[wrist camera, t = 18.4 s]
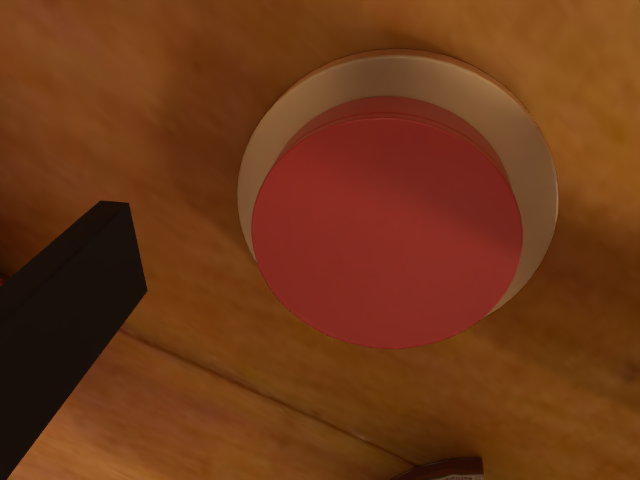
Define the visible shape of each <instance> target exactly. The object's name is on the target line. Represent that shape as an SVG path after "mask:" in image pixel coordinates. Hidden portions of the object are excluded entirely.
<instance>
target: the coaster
mask: <svg viewBox="0 0 640 480" xmlns="http://www.w3.org/2000/svg"><path fill="white" fill-rule="evenodd" d="M372 97H403V98H411V99H416V100H420V101H424V102H428V103H431V104H434V105H436V106H439V107H441V108H444V109H446V110H448V111H450V112H452V113H454V114H455V115H457V116H459V117H460V118H462V119H464V120H465V121H466V122H468V123H469V124H470V125H471V126H473V127H474V128H475V129H476V130H478V131H479V132H480V133H481V135H482V136H483V137H484V138H485V139H486V140H487V141H488V142H489V143H490V145H491V146H492V147H493V149H494V150H495V152H496V153H497V155H498V156H499V158H500V160H501V162H502V164H503V166H504V168H505V170H506V173H507V176H508V178H509V181H510V184H511V187H512V190H513V193H514V195H515V198H516V201H517V205H518V208H519V211H520V214H521V221H522V228H523V247H522V252H521V258H520V263H519V265H518V268H517V271H516V274H515V277H514V279H513V280H512V282H511V284H510V286H509V288H508V290H507V291H506V293H505V294H504V296H503V297H502V298H501V300H500V301H499V302H498V304H497V305H496V306H495V307H494V308H493V309H492V310H491V311H490V312H489V313H488V314H487V315H489V314H490V313H492V312H494V311H495V310H497V309H498V308H500V307H501V306H503V305H504V304H505V303H506V302H507V301H509V300H510V299H511V298H512V297H514V296H515V295H516V294H517V293H518V292H519V291H520V290H521V288H522V287H523V286H524V285H525V284H526V283H527V282H528V281H529V280H530V278H531V277H532V275H533V274H534V273H535V271H536V270H537V268H538V267H539V265H540V264H541V262H542V260H543V258H544V256H545V254H546V252H547V250H548V248H549V245H550V242H551V240H552V237H553V234H554V231H555V226H556V221H557V216H558V207H559V188H558V180H557V172H556V169H555V165H554V162H553V158H552V155H551V152H550V150H549V148H548V145H547V143H546V141H545V139H544V137H543V135H542V133H541V131H540V129H539V128H538V126H537V124H536V123H535V121H534V120H533V118H532V117H531V116H530V114H529V113H528V111H527V110H526V108H525V107H524V106H523V105H522V104H521V103H520V101H519V100H518V99H517V98H516V97H515V96H514V95H513V94H512V93H511V92H510V91H509V90H508V89H507V88H505V87H504V86H503V85H501V84H500V83H499V82H498V81H496V80H495V79H494V78H493V77H491V76H489V75H488V74H486V73H484V72H482V71H481V70H479V69H477V68H476V67H474V66H472V65H470V64H467V63H465V62H462V61H460V60H457V59H455V58H452V57H449V56H445V55H441V54H437V53H433V52H429V51H421V50H412V49H380V50H374V51H368V52H362V53H357V54H353V55H350V56H347V57H344V58H341V59H337V60H335V61H332V62H330V63H328V64H326V65H324V66H322V67H320V68H318V69H316V70H314V71H312V72H311V73H309V74H308V75H306V76H305V77H303V78H302V79H300V80H299V81H297V82H296V83H295V84H294V85H293V86H291V87H290V88H289V89H288V90H287V91H286V92H285V93H283V94H282V95H281V96H280V98H279V99H278V100H277V101H276V102H275V103H274V105H273V106H272V107H271V108H270V109H269V110H268V112H267V113H266V114H265V115H264V117H263V118H262V119H261V121H260V123H259V124H258V126H257V127H256V129H255V131H254V132H253V134H252V136H251V138H250V140H249V142H248V145H247V147H246V149H245V152H244V155H243V158H242V162H241V166H240V169H239V176H238V184H237V207H238V213H239V219H240V225H241V228H242V231H243V234H244V238H245V241H246V243H247V245H248V247H249V250H250V252H251V254H252V256H253V258H254V259H255V261H256V257H255V253H254V250H253V243H252V236H251V225H252V214H253V208H254V204H255V201H256V198H257V195H258V192H259V189H260V187H261V185H262V183H263V181H264V180H265V178H266V176H267V174H268V172H269V171H270V169H271V168H272V166H273V164H274V163H275V161H276V159H277V158H278V156H279V154H280V153H281V151H282V150H283V148H284V147H285V146H286V144H287V143H288V141H289V140H290V139H291V138H292V137H293V136H294V135H295V134H296V133H297V132H298V131H299V129H300V128H302V127H303V126H304V125H306V124H307V123H308V122H309V121H311V120H312V119H313V118H315V117H317V116H318V115H320V114H322V113H323V112H325V111H327V110H329V109H331V108H334V107H336V106H339V105H341V104H343V103H347V102H351V101H355V100H358V99H364V98H372ZM256 263H257V261H256ZM487 315H485V316H484V317H486V316H487ZM484 317H483V318H484Z"/></svg>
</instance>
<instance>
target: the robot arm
mask: <svg viewBox="0 0 640 480" xmlns="http://www.w3.org/2000/svg"><path fill="white" fill-rule="evenodd" d="M146 292H147V286H146V281H145V277H144V272H143V267H142V263H141V258H140V253H139V249H138V244H137V239H136V235H135V230H134V225H133V221H132V216H131V211H130V206H129V203H125V202H113V201H99V202H98V203H97V204H96V205H95V206H93V207H92V208H91V209H90V210H89V211H88V212H86V213H85V214H84V215H83V216H82V217H81V218H79V219H78V220H77V221H76V222H75V223H74V224H72V225H71V226H70V227H69V228H68V229H67V230H65V231H64V232H63V233H62V234H61V235H60V236H58V237H57V238H56V239H55V240H54V241H53V242H51V243H50V244H49V245H48V246H47V247H46V248H44V249H43V250H42V251H41V252H40V253H39V254H37V255H36V256H35V257H34V258H33V259H32V260H30V261H29V262H28V263H27V264H26V265H25V266H23V267H22V268H21V269H20V270H19V271H18V272H16V273H15V274H14V275H13V276H12V277H11V278H9V279H8V280H7V281H6V282H5V283H4V284H2V285H1V286H0V480H6V479H7V478H8V477H9V475H10V474H11V473H12V471H13V470H14V469H15V467H16V466H17V465H18V463H19V462H20V461H21V459H22V458H23V457H24V455H25V454H26V453H27V451H28V450H29V449H30V447H31V446H32V445H33V443H34V442H35V441H36V439H37V438H38V437H39V435H40V434H41V433H42V431H43V430H44V429H45V427H46V426H47V425H48V423H49V422H50V421H51V419H52V418H53V417H54V415H55V414H56V413H57V411H58V410H59V409H60V407H61V406H62V405H63V403H64V402H65V401H66V399H67V398H68V397H69V395H70V394H71V393H72V391H73V390H74V389H75V387H76V386H77V385H78V383H79V382H80V381H81V379H82V378H83V377H84V375H85V374H86V373H87V371H88V370H89V369H90V367H91V366H92V365H93V363H94V362H95V361H96V359H97V358H98V357H99V355H100V354H101V353H102V351H103V350H104V349H105V347H106V346H107V344H108V343H109V342H110V340H111V339H112V338H113V336H114V335H115V334H116V332H117V331H118V330H119V328H120V327H121V326H122V324H123V323H124V322H125V320H126V319H127V318H128V316H129V315H130V314H131V312H132V311H133V310H134V308H135V307H136V306H137V304H138V303H139V302H140V300H141V299H142V298H143V296H144V295H145V294H146Z"/></svg>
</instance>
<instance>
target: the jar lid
mask: <svg viewBox="0 0 640 480" xmlns="http://www.w3.org/2000/svg"><path fill="white" fill-rule="evenodd" d="M251 236H252V243H253V250H254V253H255V257H256V261H257V264H258V266H259V269H260V271H261V273H262V275H263V277H264V279H265V281H266V282H267V284H268V286H269V288H270V289H271V290H272V292H273V293H274V294H275V296H276V297H277V298H278V299H279V301H280V302H281V303H282V304H283V305H284V306H285V307H286V308H287V309H288V310H289V311H290V312H292V313H293V314H294V315H295V316H296V317H298V318H299V319H300V320H302V321H303V322H305V323H306V324H308V325H309V326H311V327H312V328H314V329H316V330H318V331H320V332H322V333H324V334H326V335H328V336H330V337H333V338H336V339H338V340H341V341H344V342H348V343H351V344H355V345H359V346H365V347H371V348H383V349H403V348H411V347H419V346H423V345H428V344H432V343H435V342H438V341H441V340H444V339H447V338H450V337H452V336H454V335H456V334H458V333H460V332H462V331H464V330H466V329H467V328H469V327H471V326H472V325H474V324H475V323H477V322H478V321H479V320H480V319H482V318H483V317H484V316H485V315H487V314H488V313H489V312H490V311H491V310H492V309H493V308H494V307H495V306H496V305H497V304H498V302H499V301H500V300H501V298H502V297H503V296H504V294H505V293H506V291H507V290H508V288H509V286H510V284H511V282H512V280H513V279H514V277H515V274H516V271H517V268H518V265H519V263H520V258H521V252H522V247H523V228H522V221H521V214H520V211H519V208H518V205H517V201H516V198H515V195H514V193H513V190H512V187H511V184H510V181H509V178H508V176H507V173H506V170H505V168H504V166H503V164H502V162H501V160H500V158H499V156H498V155H497V153H496V152H495V150H494V149H493V147H492V146H491V145H490V143H489V142H488V141H487V140H486V139H485V138H484V137H483V136H482V135H481V133H480V132H479V131H478V130H476V129H475V128H474V127H473V126H471V125H470V124H469V123H468V122H466V121H465V120H464V119H462V118H460V117H459V116H457V115H455V114H454V113H452V112H450V111H448V110H446V109H444V108H441V107H439V106H436V105H434V104H431V103H428V102H424V101H420V100H416V99H411V98H403V97H372V98H364V99H358V100H355V101H351V102H347V103H343V104H341V105H339V106H336V107H334V108H331V109H329V110H327V111H325V112H323V113H322V114H320V115H318V116H317V117H315V118H313V119H312V120H311V121H309V122H308V123H307V124H306V125H304V126H303V127H302V128H300V129H299V131H298V132H297V133H296V134H295V135H294V136H293V137H292V138H291V139H290V140H289V141H288V143H287V144H286V146H285V147H284V148H283V150H282V151H281V153H280V154H279V156H278V158H277V159H276V161H275V163H274V164H273V166H272V168H271V169H270V171H269V172H268V174H267V176H266V178H265V180H264V181H263V183H262V185H261V187H260V189H259V192H258V195H257V198H256V201H255V204H254V208H253V214H252V225H251Z"/></svg>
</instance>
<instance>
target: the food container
mask: <svg viewBox="0 0 640 480" xmlns="http://www.w3.org/2000/svg"><path fill="white" fill-rule="evenodd" d="M392 480H484V472H483V464H482V458H467V459H449V460H445V461H440V462H436V463H431V464H427V465H422V466H418V467H415V468H413V469H411V470H409V471H407V472H405V473H403V474H401V475H400V476H398V477H396V478H394V479H392Z"/></svg>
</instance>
